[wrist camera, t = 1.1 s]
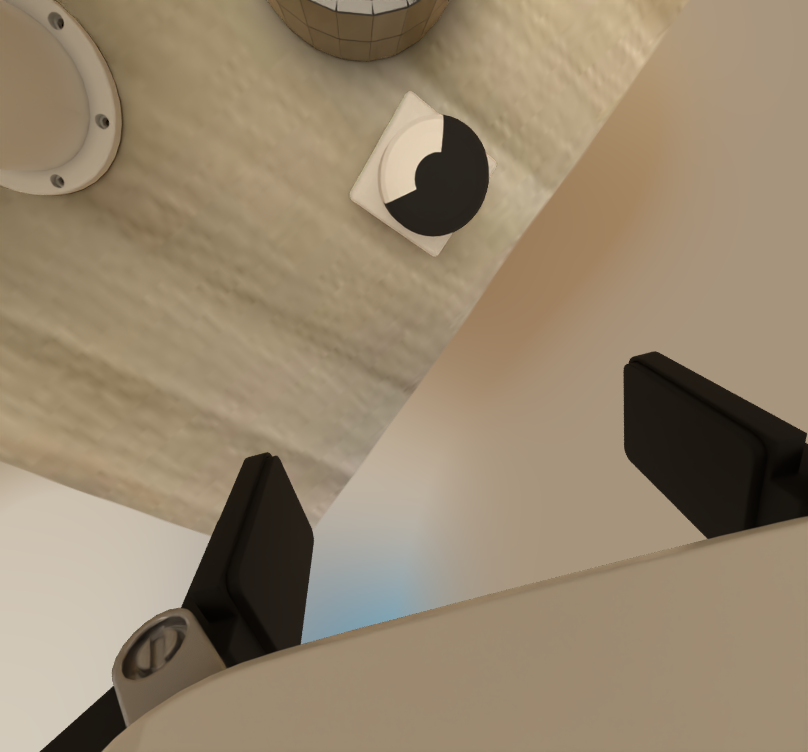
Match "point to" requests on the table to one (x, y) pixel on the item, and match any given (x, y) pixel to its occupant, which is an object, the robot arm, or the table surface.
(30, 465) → the table surface
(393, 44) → the bucket
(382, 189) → the medicine bottle
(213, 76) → the table surface
